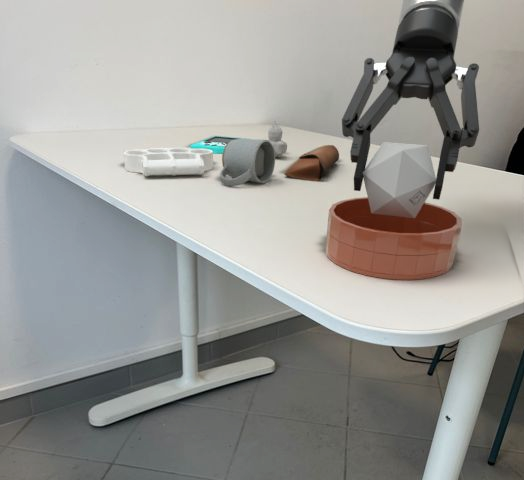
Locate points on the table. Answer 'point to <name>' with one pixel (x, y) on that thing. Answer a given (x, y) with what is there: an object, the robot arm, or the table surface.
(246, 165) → the ceramic mug
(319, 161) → the sunglasses case
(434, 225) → the bowl
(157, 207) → the table surface
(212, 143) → the handheld game console
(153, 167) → the white compartment tray
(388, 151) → the die
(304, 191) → the table surface
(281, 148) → the grey rounded figure
